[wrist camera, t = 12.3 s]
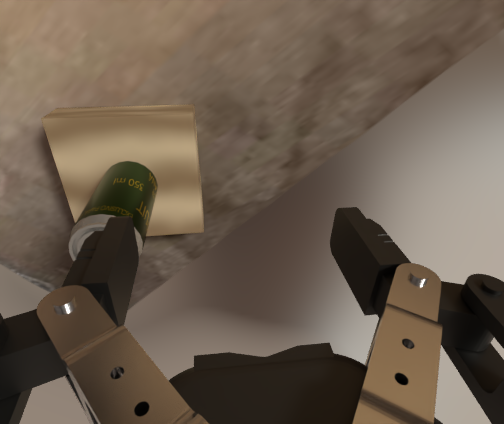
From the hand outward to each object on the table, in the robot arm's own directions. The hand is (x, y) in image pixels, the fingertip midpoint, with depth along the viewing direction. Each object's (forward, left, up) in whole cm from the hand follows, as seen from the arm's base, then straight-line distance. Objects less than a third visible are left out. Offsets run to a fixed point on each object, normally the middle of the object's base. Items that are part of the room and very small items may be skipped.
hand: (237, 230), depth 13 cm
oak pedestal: (+8, -9, -26) cm, 29 cm away
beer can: (+8, -9, -23) cm, 26 cm away
